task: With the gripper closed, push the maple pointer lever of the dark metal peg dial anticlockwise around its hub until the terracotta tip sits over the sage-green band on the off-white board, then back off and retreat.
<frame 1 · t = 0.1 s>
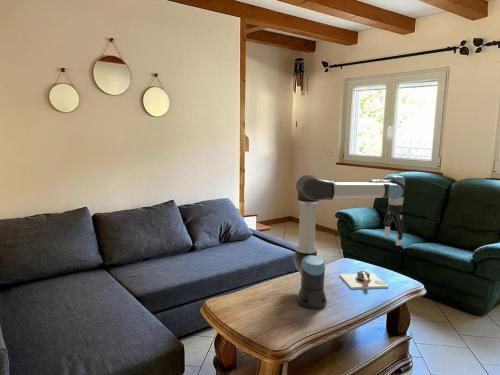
hand: (392, 241, 202), 28 cm above the table, fingers open, 13 cm apart
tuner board: (362, 281, 215), on the table
peg dial: (364, 278, 210), point 4 cm above the table, hinge at 0.0°
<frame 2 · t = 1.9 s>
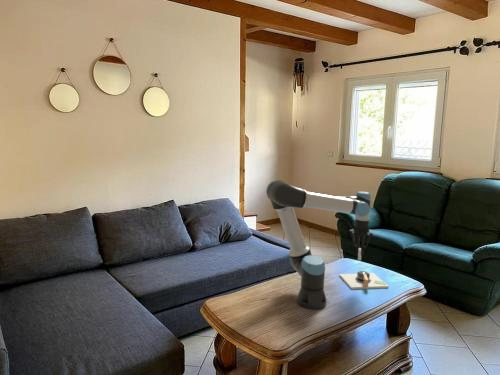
hand: (359, 259, 206), 16 cm above the table, fingers closed
nothing on the table moved.
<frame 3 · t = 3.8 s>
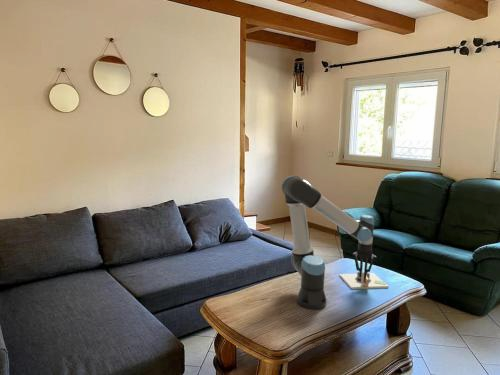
hand: (362, 282, 207), 3 cm above the table, fingers closed
peg dial: (364, 278, 210), point 4 cm above the table, hinge at 0.7°, touching gripper
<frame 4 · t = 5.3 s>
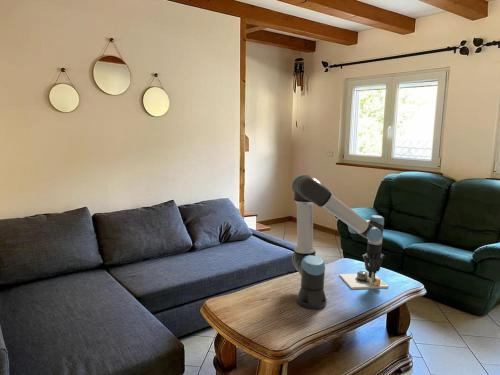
hand: (371, 282, 207), 3 cm above the table, fingers closed
peg dial: (368, 278, 211), point 4 cm above the table, hinge at 36.5°, touching gripper
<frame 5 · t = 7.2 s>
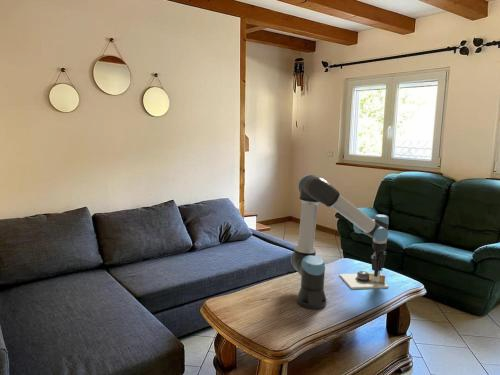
hand: (376, 281, 209), 3 cm above the table, fingers closed
peg dial: (370, 276, 213), point 4 cm above the table, hinge at 75.6°, touching gripper
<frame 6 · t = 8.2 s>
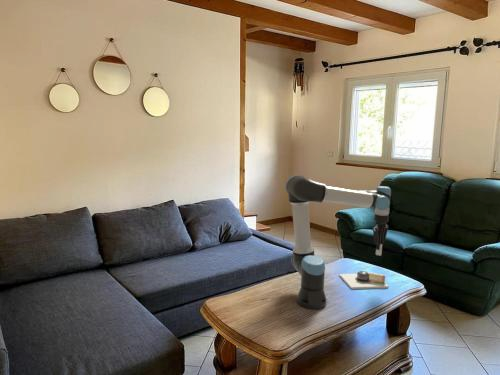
hand: (378, 254, 206), 19 cm above the table, fingers closed
peg dial: (370, 276, 213), point 4 cm above the table, hinge at 73.9°
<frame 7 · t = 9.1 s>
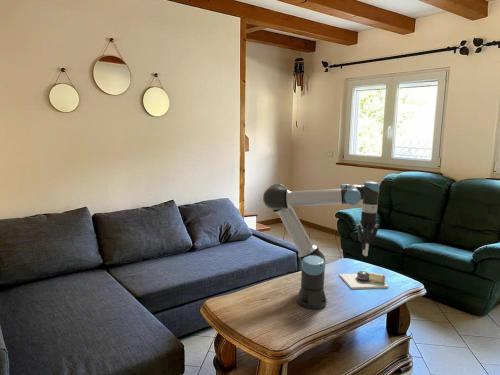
hand: (364, 255, 192), 23 cm above the table, fingers closed
nothing on the table moved.
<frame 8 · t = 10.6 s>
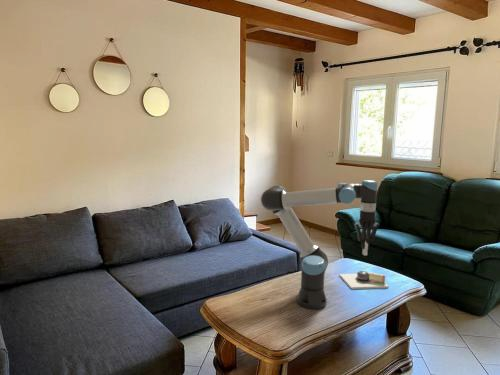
hand: (364, 254, 189), 24 cm above the table, fingers closed
nothing on the table moved.
at the end: peg dial at +74° (first picture: +0°) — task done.
